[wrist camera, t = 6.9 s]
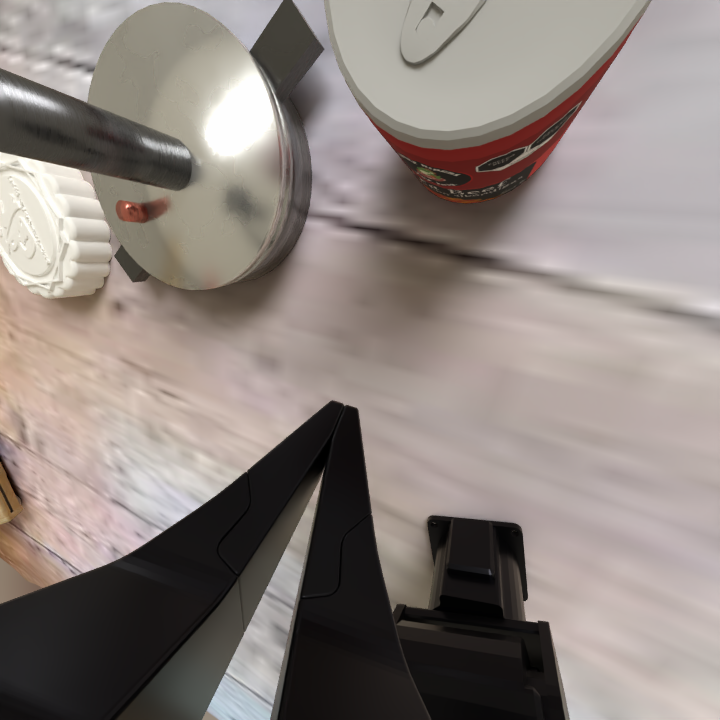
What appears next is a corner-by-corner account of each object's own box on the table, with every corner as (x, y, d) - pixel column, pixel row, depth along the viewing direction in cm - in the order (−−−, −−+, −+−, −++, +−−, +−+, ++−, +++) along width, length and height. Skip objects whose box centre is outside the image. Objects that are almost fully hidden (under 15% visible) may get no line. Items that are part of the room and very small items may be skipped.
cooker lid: (336, 182, 17) (209, 116, 9) (190, 329, 23) (42, 365, 15) (172, -68, 16) (-125, -381, 8) (69, 156, 22) (-152, 101, 15)
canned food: (386, 177, 19) (283, 89, 9) (453, 4, 16) (405, -428, 6) (508, 229, 18) (542, 192, 8) (609, 51, 14) (892, -407, 4)
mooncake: (7, 186, 31) (-48, 178, 28) (76, 132, 26) (19, 114, 23) (62, 307, 33) (17, 313, 30) (134, 278, 29) (90, 280, 25)
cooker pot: (395, 157, 18) (381, 140, 16) (204, 338, 27) (174, 347, 25) (252, -66, 18) (211, -124, 15) (104, 195, 27) (62, 188, 24)
